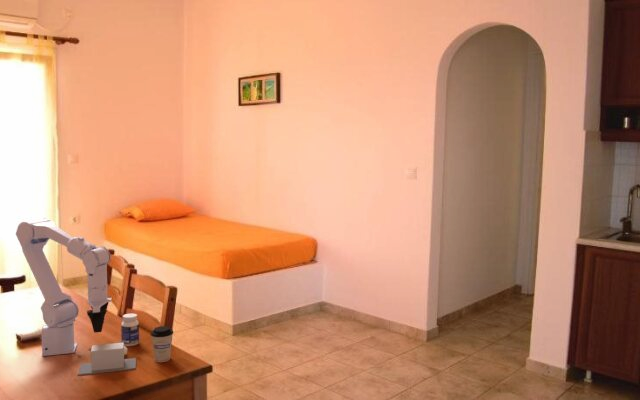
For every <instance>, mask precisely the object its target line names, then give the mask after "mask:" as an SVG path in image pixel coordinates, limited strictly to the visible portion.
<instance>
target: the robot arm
mask: <svg viewBox="0 0 640 400" xmlns="http://www.w3.org/2000/svg"><path fill="white" fill-rule="evenodd" d="M15 236H16V238H17V240H18V242H19V244H20V247H21V249H22V253H23V256H24V258H25V260H26V262H27V264H28V266H29V268H30V271H31V272H32V275H33V277H34V279H35V281H36V283H37V286H38V288H39V290H40V292H41V294H42V296H43V298H44V302H43V303H42V305H41V307H40V310H41V312H42V320H43V322H44V324H45V325H43V326H42V327H41V357H46V356H56V355H66V354H67V355H68V354H74V353H75V352H76V349H77V345H78V343H77V342H75V327H74V326H75V324H74V323H75V322H76V318H77V317H79V316H78V315H79V313H80V311H79V309H80V308H79V306H78V304H77V303H76V302H75V301H74V300H73V298H72V296H71V295H69V294H67V293H65V292H63V291H62V288H61V287H60V284H59V282H58V280H57V278H56V275H55V274H54V272H53V269H52V267H51V265H50V263H49V261H48V259H47V257H46V255H45V252H44V247H45V245H47V243H48V242H49V240H52V241H54V242H56V243H58V244H59V245H62V246H64V247H65V248H66V250H67V252H68V253H69V254H71V255H72V256H74V257H76V258H78V260H81V261H82V264H83V266H84V267H85V272H86V274H87V275H86V276H87V277H86V278H87V279H86V281H87V304H88V305H89V306H90V308H91V309H90V310H89V309H88V310H87V311H86V314H87V316H88V317H89V320H90V323H91V327H92V329H93V333H102V331H103V328H104V327H103V325H104V322H105V316H106V314H107V311H108V310H107V307H108V305H109V303H110V302H112V300H113V299H112V297H109V296H108V270H107V269H108V264H109V263H110V261H111V257H112V255H111V252H110V250H109V249H108V248H107V247H105V246H96V244H94V243H91V242H89V241H88V240H85V238H84V237H83V236H75V237H73V236H72V235H70V234H68V232H65V230H63V229H61V228H60V227H58V226H57V224H56V223H55V221H53V220H51V219H49V218H42V219H37V220H29V221H21V222H20V223H19V224H18V225H17V229H16V232H15Z"/></svg>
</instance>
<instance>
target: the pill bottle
mask: <svg viewBox="0 0 640 400" xmlns="http://www.w3.org/2000/svg"><path fill="white" fill-rule="evenodd" d="M120 327H121V328H120V329H121V330H120V332H121V335H120V336H121V341H120V343H123V342H124V346H125V347H133V346H137V345H138V344H139V343H140V323H139V320H138V314H136V313H126V314H123V315H122V322H121V325H120Z"/></svg>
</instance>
